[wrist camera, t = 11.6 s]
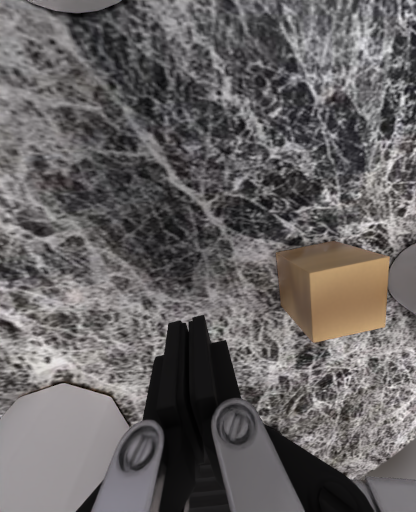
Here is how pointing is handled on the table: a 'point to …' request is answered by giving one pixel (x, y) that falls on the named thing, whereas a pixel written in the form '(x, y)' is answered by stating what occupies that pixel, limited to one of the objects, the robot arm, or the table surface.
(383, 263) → the block
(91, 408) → the cup
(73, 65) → the table surface
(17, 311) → the table surface
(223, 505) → the camera
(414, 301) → the mug
